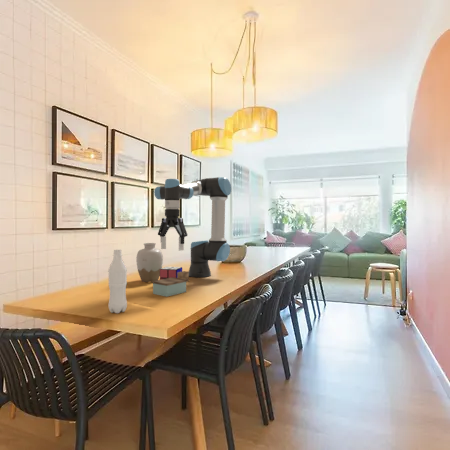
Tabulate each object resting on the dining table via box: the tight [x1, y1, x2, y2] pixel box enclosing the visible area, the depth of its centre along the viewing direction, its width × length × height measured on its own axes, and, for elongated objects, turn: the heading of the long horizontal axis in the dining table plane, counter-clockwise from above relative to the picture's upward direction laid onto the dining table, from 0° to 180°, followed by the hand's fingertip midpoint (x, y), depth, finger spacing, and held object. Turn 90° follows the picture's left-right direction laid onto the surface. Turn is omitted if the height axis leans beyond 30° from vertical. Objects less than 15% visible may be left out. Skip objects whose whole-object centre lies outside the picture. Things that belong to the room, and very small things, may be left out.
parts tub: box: [152, 282, 187, 297], centre depth 163 cm, size 13×10×6 cm
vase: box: [135, 242, 164, 283], centre depth 200 cm, size 16×16×23 cm
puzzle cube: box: [159, 266, 183, 280], centre depth 185 cm, size 10×10×10 cm
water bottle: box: [107, 249, 128, 314], centre depth 132 cm, size 7×7×25 cm
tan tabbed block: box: [151, 270, 190, 286], centre depth 165 cm, size 19×11×5 cm, turn 143°
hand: (172, 249), depth 170 cm, fingers open, 13 cm apart
